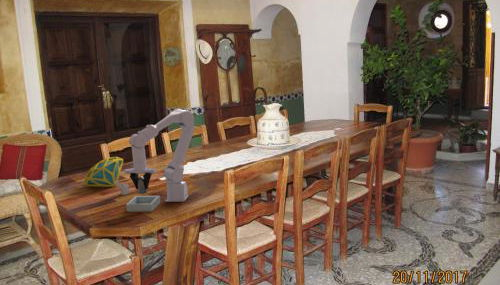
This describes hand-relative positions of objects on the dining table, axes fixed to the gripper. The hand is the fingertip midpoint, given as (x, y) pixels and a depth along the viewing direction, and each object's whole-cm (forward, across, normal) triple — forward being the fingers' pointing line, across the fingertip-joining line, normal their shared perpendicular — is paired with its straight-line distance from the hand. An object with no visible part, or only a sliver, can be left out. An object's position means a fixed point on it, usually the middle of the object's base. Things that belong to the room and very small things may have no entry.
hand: (142, 188), depth 215 cm
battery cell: (+2, 0, 0) cm, 2 cm away
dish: (+9, 0, 0) cm, 9 cm away
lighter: (+9, -18, +19) cm, 28 cm away
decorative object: (+9, -34, +34) cm, 49 cm away
